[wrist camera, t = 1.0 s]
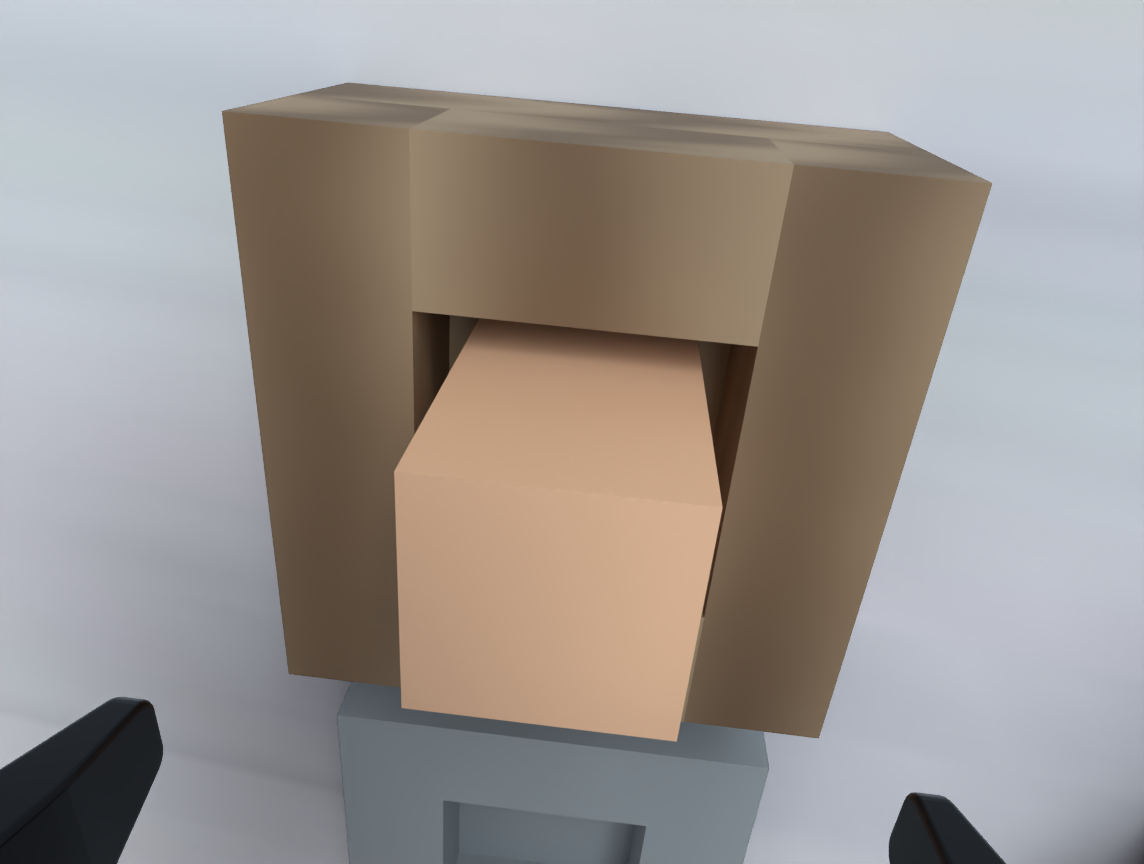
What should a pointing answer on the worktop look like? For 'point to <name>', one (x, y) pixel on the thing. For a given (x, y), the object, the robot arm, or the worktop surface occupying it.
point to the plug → (558, 531)
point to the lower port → (540, 789)
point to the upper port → (598, 302)
